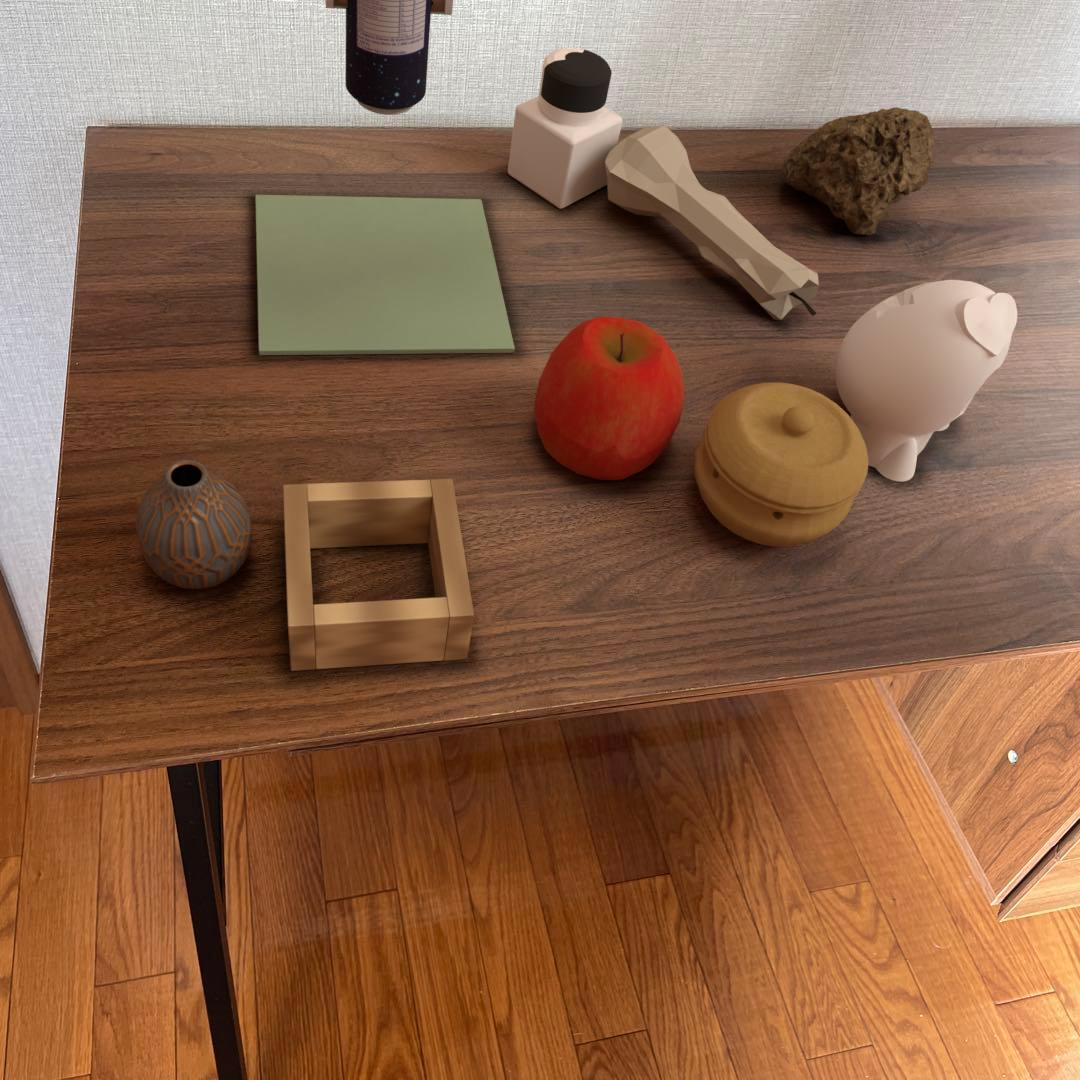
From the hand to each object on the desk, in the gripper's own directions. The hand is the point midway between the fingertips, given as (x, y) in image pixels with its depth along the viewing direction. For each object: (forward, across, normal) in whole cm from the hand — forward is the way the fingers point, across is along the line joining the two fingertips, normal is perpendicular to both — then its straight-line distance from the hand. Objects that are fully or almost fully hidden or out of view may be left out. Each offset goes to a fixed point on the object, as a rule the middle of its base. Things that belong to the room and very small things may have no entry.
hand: (389, 7), depth 75 cm
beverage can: (+7, 0, 0) cm, 7 cm away
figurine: (+23, +39, -18) cm, 49 cm away
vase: (+23, -14, -29) cm, 39 cm away
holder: (+23, -3, -32) cm, 39 cm away
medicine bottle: (+23, +18, +15) cm, 33 cm away
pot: (+23, +26, -26) cm, 43 cm away
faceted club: (+23, +29, +3) cm, 37 cm away
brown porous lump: (+23, +47, +11) cm, 54 cm away
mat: (+23, 0, +1) cm, 23 cm away
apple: (+23, +15, -19) cm, 34 cm away
